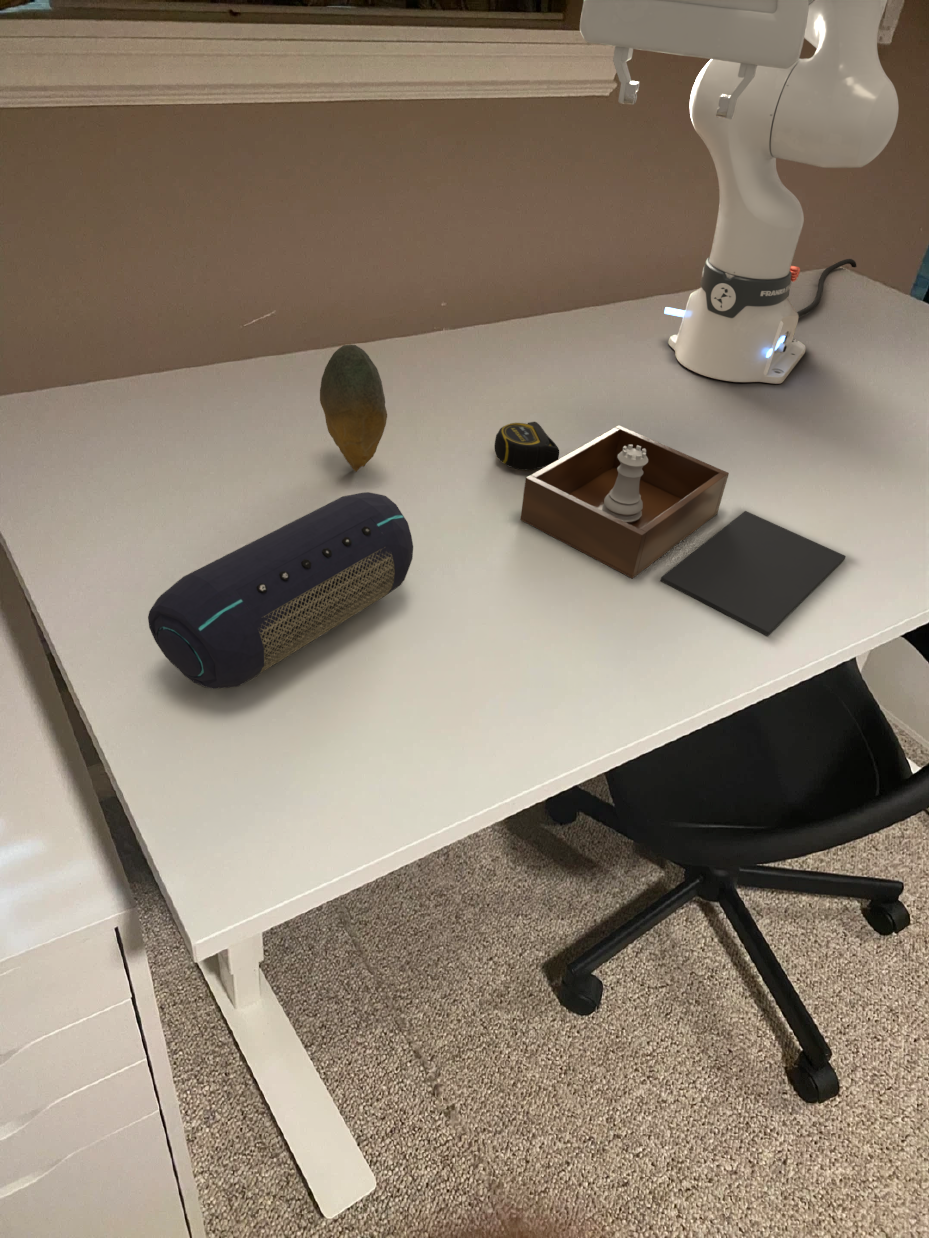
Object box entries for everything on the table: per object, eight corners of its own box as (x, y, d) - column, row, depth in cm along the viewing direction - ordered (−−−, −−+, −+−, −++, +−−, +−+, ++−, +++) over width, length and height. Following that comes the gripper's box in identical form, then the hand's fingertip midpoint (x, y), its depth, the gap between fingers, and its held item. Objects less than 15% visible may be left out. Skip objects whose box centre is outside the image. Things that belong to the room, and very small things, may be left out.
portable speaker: (219, 729, 73) (205, 634, 66) (145, 669, 77) (125, 575, 71) (430, 593, 88) (435, 505, 82) (357, 550, 93) (356, 464, 87)
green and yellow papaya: (399, 482, 104) (402, 356, 94) (353, 497, 101) (351, 368, 91) (353, 445, 109) (352, 324, 100) (309, 458, 106) (303, 334, 97)
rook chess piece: (593, 513, 101) (605, 449, 96) (616, 499, 103) (629, 435, 98) (626, 530, 98) (640, 465, 93) (649, 515, 101) (664, 451, 96)
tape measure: (559, 473, 108) (563, 444, 105) (504, 479, 106) (507, 450, 103) (537, 445, 112) (541, 417, 110) (485, 450, 111) (488, 422, 108)
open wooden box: (610, 464, 110) (618, 424, 107) (717, 513, 103) (729, 472, 100) (520, 519, 99) (525, 477, 96) (632, 578, 92) (642, 535, 89)
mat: (744, 514, 103) (745, 510, 103) (844, 559, 98) (846, 555, 97) (660, 580, 92) (661, 576, 92) (767, 636, 87) (769, 632, 86)
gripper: (835, -58, 79) (787, 121, 87) (605, -81, 83) (581, 91, 92) (832, -57, 74) (782, 132, 83) (589, -82, 79) (565, 100, 87)
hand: (675, 110), depth 87 cm, fingers open, 8 cm apart
